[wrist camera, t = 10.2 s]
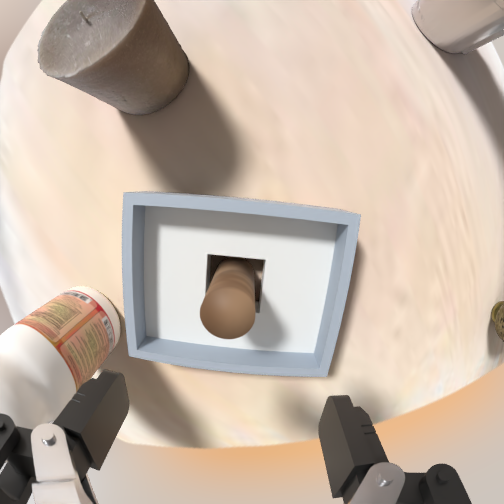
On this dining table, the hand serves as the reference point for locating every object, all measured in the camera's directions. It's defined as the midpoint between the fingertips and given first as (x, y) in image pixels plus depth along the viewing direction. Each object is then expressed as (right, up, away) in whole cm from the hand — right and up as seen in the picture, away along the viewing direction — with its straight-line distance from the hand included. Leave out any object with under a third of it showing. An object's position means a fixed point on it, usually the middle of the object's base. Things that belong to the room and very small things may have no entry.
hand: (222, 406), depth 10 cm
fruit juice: (-19, -3, +22) cm, 29 cm away
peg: (-1, +3, +20) cm, 20 cm away
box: (-1, +3, +20) cm, 20 cm away
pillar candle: (-10, +25, +16) cm, 31 cm away
